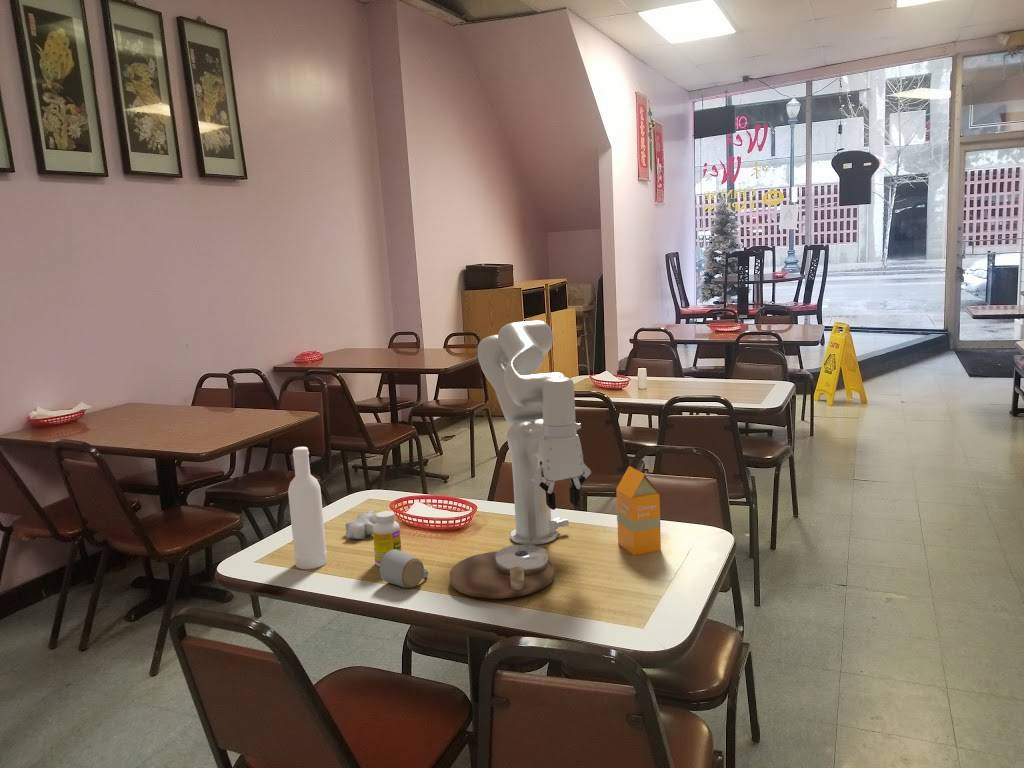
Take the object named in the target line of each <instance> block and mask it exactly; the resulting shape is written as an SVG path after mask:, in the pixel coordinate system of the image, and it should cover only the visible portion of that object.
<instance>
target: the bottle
mask: <svg viewBox="0 0 1024 768" xmlns="http://www.w3.org/2000/svg"><path fill="white" fill-rule="evenodd" d="M309 455H310V452H309V447H307V446H297V447H295V448H293V449H292V458H293V465H294V466H293V467H294V474H295V475H294V477H293V478H292V479H291V481H290V482H289V486H288V489H287V490H288V491H287V492H288V504H289V515H290V523H291V532H292V533H291V534H292V542H293V543H292V544H293V552H294V554H293V557H294V562H295V563H294V564H295V565H294V566H295V567H296V568H297V569H300V570H314V569H318V568H320V567H323V566H324V565H326V564H327V562H328V551H327V550H328V549H327V544H326V534H325V524H324V523H325V522H324V521H325V520H324V513H323V502H322V492H321V491H322V490H321V485H320V483H319V481H318V479H317V478H316V477H314V476H313V475H312V474H311V469H310V468H311V465H310V457H309Z"/></svg>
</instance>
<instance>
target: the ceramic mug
mask: <svg viewBox="0 0 1024 768" xmlns="http://www.w3.org/2000/svg"><path fill="white" fill-rule="evenodd" d="M428 575H429V570H427V569H425V568H424V563H423V561H422V560H421V559H420V558H418V557H416V556H414V555H412V554H409V553H406V552H404V551H402V550H401V551H400V550H396V549H394V550H390V551H389V552H387V553H386V554H385V555H384V557H383V558H382V560H381V563H380V567H379V576H380V578H381V579H382V580H383V581H384V582H386V583H389V584H392V585H396V586H399V587H402V588H405V589H413V588H414V587H416V586H418V584H420V582H421V581H422V579H424V578H428Z"/></svg>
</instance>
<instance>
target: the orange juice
mask: <svg viewBox="0 0 1024 768" xmlns="http://www.w3.org/2000/svg"><path fill="white" fill-rule="evenodd" d="M615 491H616V521H617V524H616V525H617V544H618V545H619V546H621V547H622V548H624V549H625V550H626V551H627V552H629V553H630V554H632V555H633V556H635V555H641V554H647V553H652V552H658V551H661V550H662V549H661V548H662V547H661V546H662V541H661V503H660V500H661V499H660V497H661V496H660V493H659V492H658V491H657V489H656V488H655V486H654V485H653V483H652V482H651V481H650V480H649V478H648V477H647V475H646V474H645V473H643V472H641V471H640V470H638V469H636V468H634V467H632V466H630V465H629V466H628V467H627V468H626V470H625V473H624V474H623V476H622V478H621V479H620V481H619V482H618V485H617V487H616V488H615Z"/></svg>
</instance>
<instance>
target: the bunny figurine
mask: <svg viewBox="0 0 1024 768" xmlns="http://www.w3.org/2000/svg"><path fill="white" fill-rule="evenodd" d="M376 514H377V513H375V511H374V510H371V509H370V510H367V512H361V513H360V514H358V515H357V517H356V519H355V520H352V521H349V522H346V523H345V530H346V532H345V537H346V539H354V540H355V539H356V540H365V539H366V537H367V536H370V535H373V526H374V525H375V524H376V523H377V521H376Z"/></svg>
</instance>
